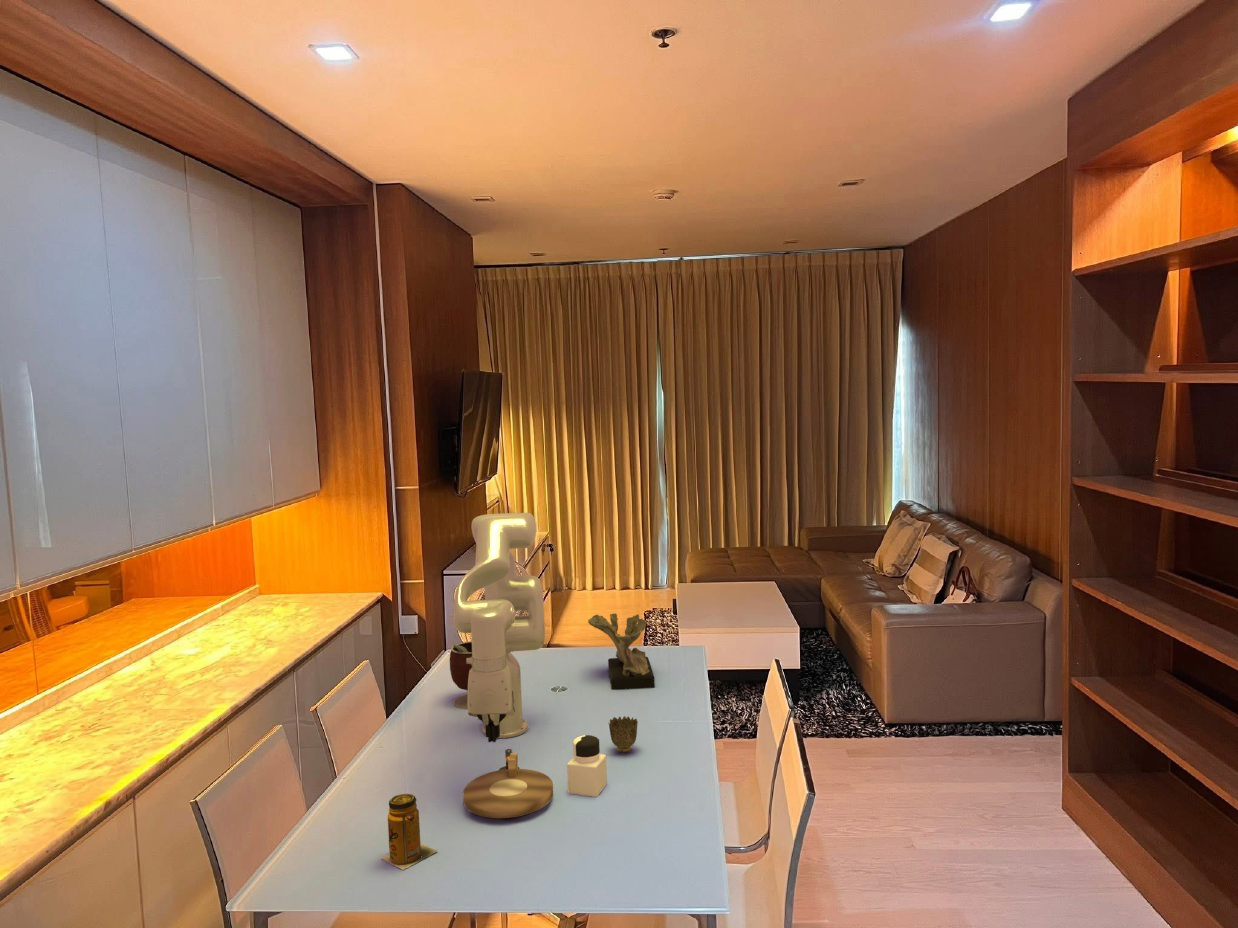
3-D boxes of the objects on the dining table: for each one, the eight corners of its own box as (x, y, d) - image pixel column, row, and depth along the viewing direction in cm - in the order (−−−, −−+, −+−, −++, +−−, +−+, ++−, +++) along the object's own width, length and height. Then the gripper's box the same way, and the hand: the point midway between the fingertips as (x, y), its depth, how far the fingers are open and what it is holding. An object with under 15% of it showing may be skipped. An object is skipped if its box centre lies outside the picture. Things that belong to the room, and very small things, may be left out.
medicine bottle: (607, 783, 196) (605, 733, 196) (596, 797, 190) (595, 745, 189) (579, 780, 199) (577, 730, 198) (567, 793, 192) (565, 742, 191)
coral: (655, 691, 259) (653, 623, 257) (589, 694, 258) (587, 626, 257) (650, 667, 284) (648, 604, 282) (590, 669, 283) (588, 606, 282)
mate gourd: (469, 691, 264) (466, 629, 263) (506, 697, 258) (503, 633, 257) (438, 708, 251) (435, 642, 249) (476, 714, 244) (473, 647, 243)
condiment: (380, 858, 166) (377, 800, 166) (416, 841, 173) (413, 784, 172) (402, 870, 162) (399, 810, 161) (438, 852, 168) (435, 794, 167)
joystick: (499, 769, 206) (498, 746, 206) (519, 767, 207) (518, 744, 206) (498, 781, 199) (497, 758, 199) (519, 780, 200) (518, 756, 199)
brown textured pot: (635, 758, 210) (634, 727, 209) (606, 756, 212) (605, 725, 211) (640, 746, 217) (639, 716, 217) (613, 744, 219) (612, 715, 218)
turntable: (548, 817, 178) (547, 789, 178) (454, 818, 179) (453, 791, 179) (557, 775, 198) (556, 751, 198) (473, 777, 199) (472, 753, 198)
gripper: (453, 668, 188) (457, 746, 190) (518, 668, 187) (522, 746, 189) (461, 657, 196) (465, 732, 198) (524, 656, 195) (527, 732, 197)
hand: (493, 739), depth 194 cm, fingers closed
